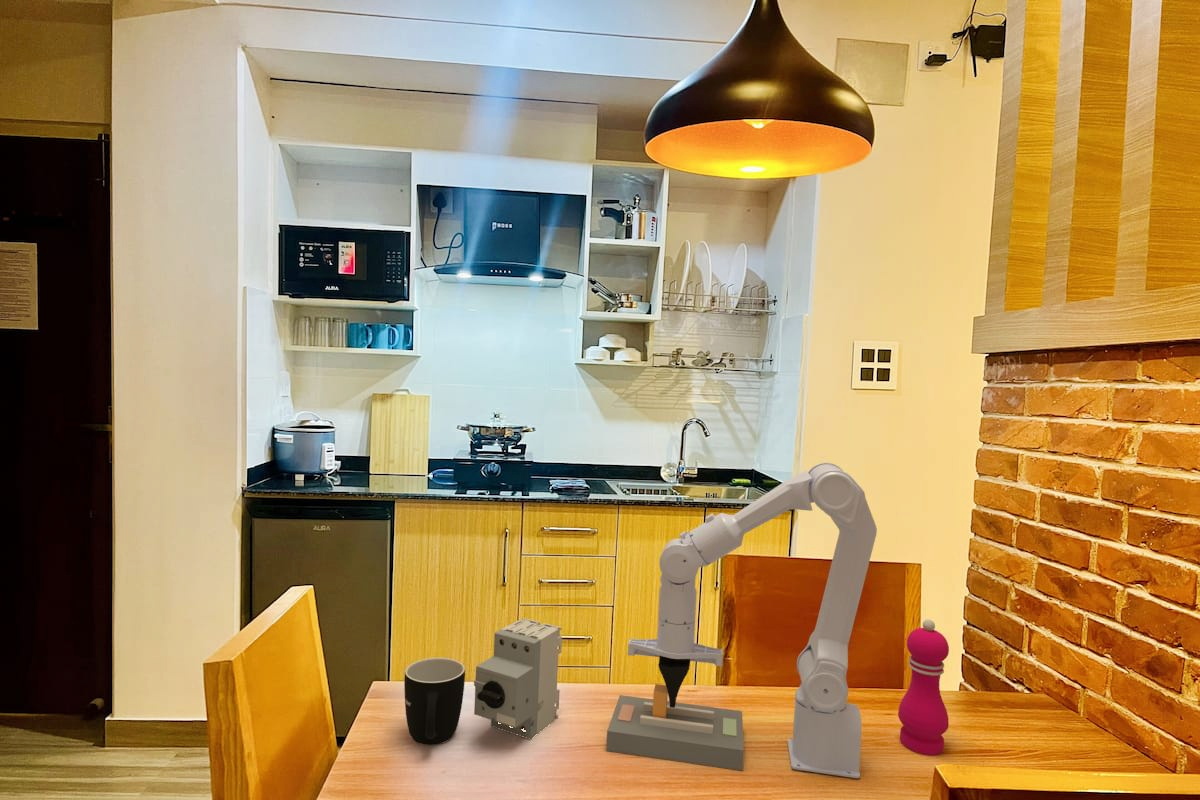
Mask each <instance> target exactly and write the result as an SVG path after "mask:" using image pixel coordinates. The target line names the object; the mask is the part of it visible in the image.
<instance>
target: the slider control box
mask: <svg viewBox="0 0 1200 800" xmlns="http://www.w3.org/2000/svg"><path fill="white" fill-rule="evenodd" d="M617 699H618V700H617V702H616V705H615V708H614V711H613V714H612V716H611V719H610V722H609V725H608V727H607V731H606V747H605V748H606V750H605V751H606V752H614V753H619V754H627V755H632V756H633V755H634V756H639V757H646V758H653V759H660V760H661V759H662V760H667V761H673V762H681V763H688V764H695V765H702V766H709V767H715V768H720V769H721V768H723V769H729V770H735V771H741V772H742V771H743V770H744V756H745V755H744V751H745V747H744V725H743V724H744V723H743V721H744V719H743V710H736V709H730V708H729V709H728V708H722V707H716V706H715V707H713V706H707V705H699V704H698V705H697V704H692V703H690V704H689V703H684V702H677V701H676V704H675V708H672V707H670V702H669V701H668V700H667V715H666V718H659V717H652V715H653V698H646V697H645V698H644V697H639V696H629V695H624V694H619V696H618V698H617Z"/></svg>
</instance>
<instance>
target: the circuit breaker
mask: <svg viewBox="0 0 1200 800" xmlns="http://www.w3.org/2000/svg"><path fill="white" fill-rule="evenodd" d="M561 630H562V626H557V625H554V624H549V623H546V622H544V623H541V622H540V621H536V620H533V619H529V618H525V617H522V619H518V620H517V621H515V622H513V623H511V624H508V625H506V626H505V627H503V628H501V629H499V630H497V631H495V632H494V637H493V638H494V640H493V642H494V643H493V656H491V657H490V658H488V659H486V660H484V661H483V662H481V663H479V664H477V665H476V666H475V680H474V682H473V686H474V710H473V711H474V712H473V714H474V715H476V716H477V717H482V718H485V719H487V720H490V726H491V727H492V726H495V727H497V728H496V729H498V728H500V729H499V730H501V729H503V730H502V731H504V730H506V731H505V732H507V731H509V732H508V733H510V732H512V733H511V734H513V733H514V734H513V735H516V734H518V735H517V736H519V735H521V736H520V737H522V736H524V737H523V738H525V737H527V738H526V739H528V738H530V739H531V740H533V739H534V738H535V737H536V736H537V735H536V734H538V733H539V732H540V731H541V732H542V731H544V730H545V729H546V728H547V727H549V726H550V725H552V723H554V722H555V719H558V718H559V714H558V713H557V712H558V711H557V710H558V709H560V691H561V690H560V689H558V670H559V655H560V654H561V653H562V646H563V645H562V643H563V636H561V632H560V631H561ZM553 721H554V722H553ZM498 722H499V723H501V724H498ZM549 724H550V725H549ZM548 725H549V726H548ZM509 726H511V727H513V728H510V727H509ZM495 727H494V728H495ZM545 727H546V728H545ZM523 728H524V730H526V732H523V731H522V730H521V729H523ZM544 728H545V729H544ZM543 729H544V730H543ZM541 732H540V733H541ZM540 733H539V734H540ZM539 734H538V735H539ZM535 735H536V736H535ZM534 736H535V737H534ZM533 737H534V738H533ZM532 738H533V739H532ZM530 739H529V740H530Z"/></svg>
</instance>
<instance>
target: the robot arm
mask: <svg viewBox="0 0 1200 800" xmlns="http://www.w3.org/2000/svg"><path fill="white" fill-rule="evenodd" d="M812 503H814V504H815V505H816V507H817V508H819V509H820V510H821V511H823V513H825V514H826V515H827V516H829V517H830V518H831V520H832V522H833V523H834V525H835V526H836V527H837V529H838V530H839V533H838V537H837V541H836V545H835V548H834V552H833V557H832V560H831V564H830V568H829V573H828V577H827V581H826V583H825V584H826V585H825V589H824V592H823V597H822V601H821V604H820V609H819V612H818V616H817V620H816V624H815V628H814V630H813V632H812V633H811V635H809V639H808V642H807V645H806V646H805V648H804V649H803V650H802V651H801V652H800V653H799V655H798V657H797V660H796V669H797V673H798V674H799V677H800V681H801V683H800V685H799V687H798V688H797V690H796V691H795V693H794V712H793V713H794V714H793V728H792V729H793V730H792V738H787V741H786V743H787V749H788V754H789V760H790V766H791V768H792V769H793V770H797V771H802V772H803V771H805V772H811V773H817V774H818V773H819V774H823V775H825V774H826V775H832V776H840V777H847V778H852V779H860V778H861V773H860V762H861V750H862V749H861V748H862V747H861V746H862V715H861V712H860V707H859V706H858V704H855V703H851V702H847V699H848V697H849V686H848V683H847V671H848V669H849V668H848V667H849V662H848V661H849V657H848V656H849V652H848V651H849V650H848V649H849V642H850V639H851V635H852V633H853V632H852V631H853V626H854V623H855V619H856V615H857V611H858V608H859V604H860V599H861V596H862V592H863V589H864V584H865V580H866V577H867V573H868V568H869V565H870V561H871V560H870V559H871V558H872V552H873V550H874V545H875V541H876V537H877V531H878V528H877V525H876V522H875V519H874V517H873V515H872V512H871V509H870V507H869V504H868V500H867V497H866V494H865V491H864V490H863V488H862V487H861V486H860V485H859V484H858V482H857V481H856V480H855V479H854V477H852V476H851V475H850V474H849V473H848V472H845V471H844V470H843V469H842V468H841V467H840V466H838V465H837V464H835V463H832V462H831V463H830V462H820V463H818V464H815V465H814V466H812V467H811V468H810V469H809V470H808V471H807V470H804V471H801V472H799V473H797V474H795V475H793V476H792V477H790V478H788V479H786V480H784V482H782V483H780V484H779V485H777V486H775V487H774V488H773V489H771V490H770V491H768V492H766V493H765V494H763V495H762V496H760V497H759V498H757V499H755V500H754V501H753V502H751V503H750V504H748V505H747V506H745V507H744V508H742V509H741V510H739V511H738V512H736V513H734V514H727V513H725V512H720V513H718V514H717V515H714V513H709V515H707V516H706V517H705V522H703V523H701V524H699V525H698V526H696V527H695V528H693V529H692V530H690V531H689V532H687V531H683V532H680V534H679V538H674V539H671V540H670V541H668V542H667V543H666V544H665V546H664V548H663V549H662V552H661V555H660V557H659V570H660V572H661V575H660V579H659V580H660V583H661V584H660V587H659V591H658V592H659V593H658V594H659V595H658V611H657V613H658V614H657V615H658V616H657V617H658V618H657V619H658V620H657V635H656V636H657V637H656V638H654V639H653V638H649V639H648V638H646V639H645V638H644V639H641V638H639V639H638V638H629V641H628V644H627V655H628V656H629V657H630V656H631V657H634V656H636V655H638V656H648V657H653V658H655V657H656V658H659V660H658V670H659V672H660V674H661V676H662V678H663V680H664V681H663V682H664V685H666V687H667V691H668V700H669V702H670V707H672V708H675V704H676V702H677V698H678V693H679V691H680V689H681V686H682V684H683V682H684V680H685V678H686V676H687V675H688V673H689V670H690V667H691V662H697V663H705V664H713V665H714V666H717V667H723V657H724V656H723V655H724V650H723V648H716V647H711V646H707V645H703V644H701V643H700V644H699V643H695V633H696V632H695V631H696V613H697V612H696V610H697V588H696V578H697V577H696V576H697V574H698V572H699V569H700V568H702V567H708V566H709V565H711V564H714V562H717V561H718V560H719V559H721V558H724V557H725V556H726V555H728V554H730V553H732V552H733V551H735V550H737V549H738V548H740V547H742V544H743V540H744V537H745V534H747V533H749V532H750V531H752V530H754V529H756V528H758V527H760V526H761V525H764V524H765V523H767V522H769V521H771V520H773V519H775V518H776V517H778V516H780V515H782V514H784V513H786V512H788V511H790V510H799V511H809V512H811V511H813V506H812Z"/></svg>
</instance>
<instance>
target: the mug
mask: <svg viewBox="0 0 1200 800" xmlns="http://www.w3.org/2000/svg"><path fill="white" fill-rule="evenodd" d="M465 679H466V667H465V665H464V664H463V663H462V662H460V661H458V659H457V660H456V659H453V658H448V657H429V658H424V659H420V660H417V661H415V662H413V663H410V664H409V665H408V666H407V667H406V669H405V670H404V681H403V682H404V684H403V685H404V705H405V717H406V724H407V728H408V732H409V735H410V738H411V739H412V740H413V741H414V742H416V743H418V744H419V745H422V746H435V745H440V744H443V743H446V742H448V741H449V740H451V739H452V738H453V736H454V735H455V733H456V731H457V729H458V726H459V725H458V724H459V722H460V717H461V711H462V707H463V699H464V692H465V681H466V680H465ZM447 740H448V741H447Z"/></svg>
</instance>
